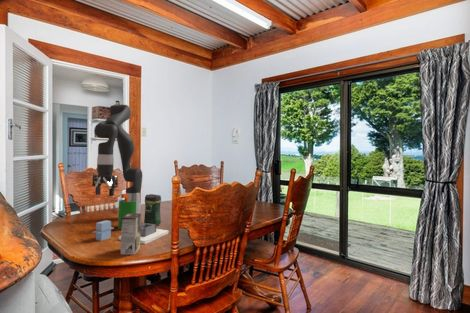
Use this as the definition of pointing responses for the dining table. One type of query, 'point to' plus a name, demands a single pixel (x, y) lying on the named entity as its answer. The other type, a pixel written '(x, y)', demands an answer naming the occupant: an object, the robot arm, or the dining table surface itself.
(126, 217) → the coffee box
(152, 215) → the coffee jar
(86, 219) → the dining table surface
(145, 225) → the board
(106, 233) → the block
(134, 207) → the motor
